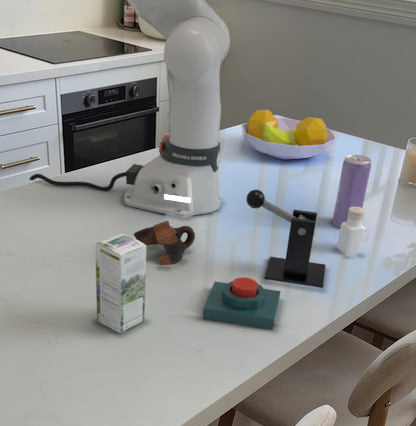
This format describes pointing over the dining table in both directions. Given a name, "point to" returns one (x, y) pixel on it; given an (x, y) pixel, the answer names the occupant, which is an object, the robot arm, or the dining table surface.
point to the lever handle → (268, 205)
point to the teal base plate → (242, 306)
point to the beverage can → (351, 186)
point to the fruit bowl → (287, 136)
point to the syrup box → (120, 282)
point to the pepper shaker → (352, 232)
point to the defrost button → (244, 287)
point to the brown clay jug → (167, 240)
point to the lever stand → (298, 255)
